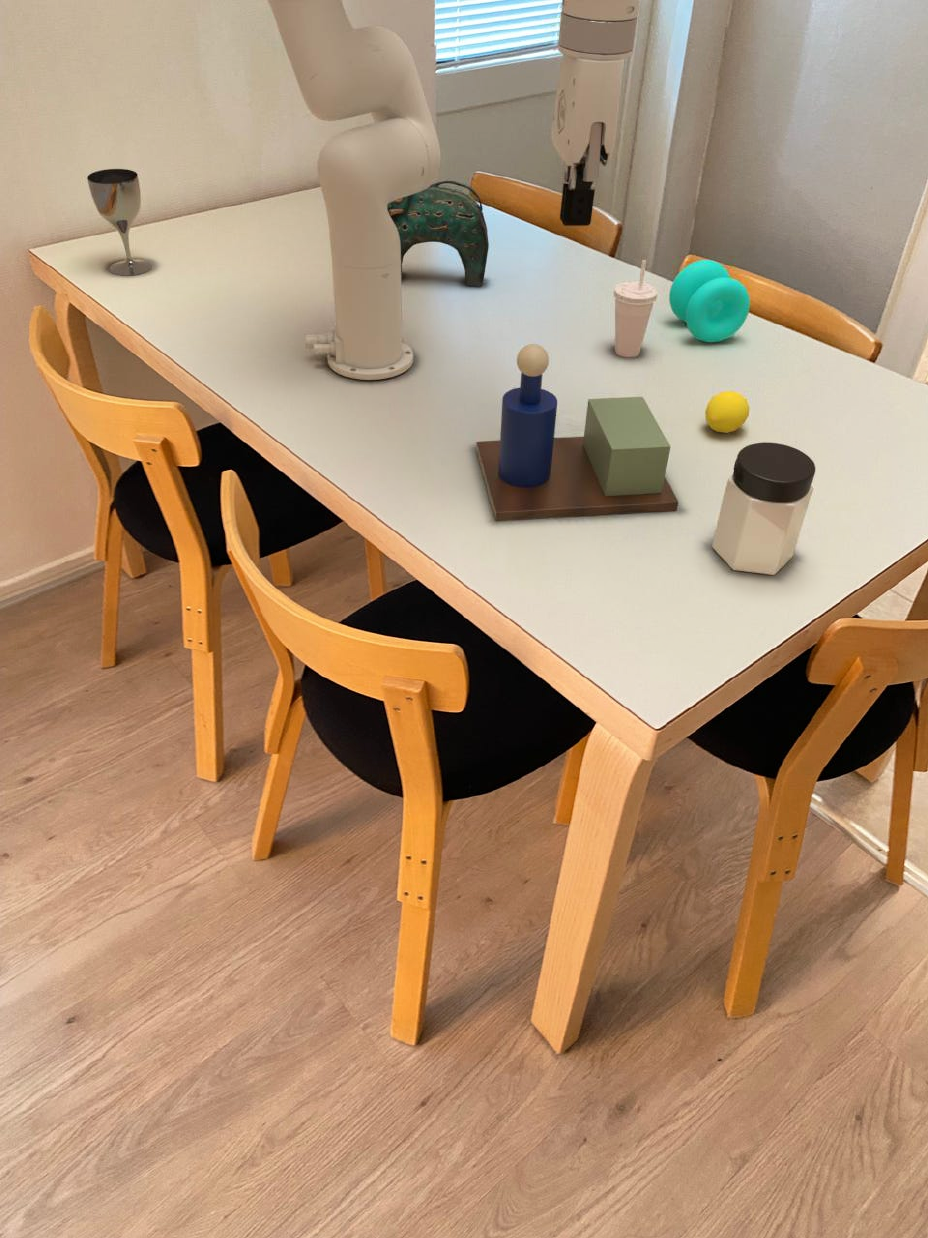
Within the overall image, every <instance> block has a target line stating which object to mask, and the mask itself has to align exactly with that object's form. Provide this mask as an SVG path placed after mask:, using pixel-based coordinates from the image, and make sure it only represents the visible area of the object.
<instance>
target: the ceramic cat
mask: <svg viewBox="0 0 928 1238" xmlns="http://www.w3.org/2000/svg"><path fill="white" fill-rule="evenodd" d="M446 184H451V185H456V186H458V187H462V188H465V189H467V190H468V191H470V192H471V193H472V194H473V195H474V196H475V197H476V199H477V200H478V201H476V199H475V198H474V197H473V196H472V195H470V194H469V193H468V192H467V191H465V190H463V189H461V188H458V187H455V186H451V185H446ZM387 209H388V213H389V215H390V217H391V219H392V220H393V222H394V224H395V226H396V228H397V230H398V233H399V237H400V245H401V276H402V274H403V262H404V258H405V255H406V254H407V253H408V252H409V250H410V249H411V248H412V247H413V246H414V245H419V244H423V243H441V244H444V245H447V246H450V247H451V248H453V249H454V250H456V251H457V253H458V256H459V258H460V259H461V264H462V265H463V266H462V267H463V270H464V284H465V286H467V287H475V288H476V287H478V288H479V287H483V284H484V279H485V273H486V266H487V260H488V254H489V249H490V247H489V246H490V243H489V242H490V241H489V234H488V226H487V223H486V219H485V215H484V212H483V210H484V208H483V204H482V200H481V198H480V196H479V194H478V193H477V192H476V190H475V189H474V188H473V187H472V186H470V185H467V184H466V183H464V182H460V181H456V180H442V181H438V182H434V183H433V184H432V185H431V186H430V187H428V188H427V189H425V190H423V191H420V192H418V193H415V194H412V195H409V196H406V197H403V198H400V199H397V200H395V201H393V202H390V203H388V205H387Z"/></svg>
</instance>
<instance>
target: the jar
mask: <svg viewBox="0 0 928 1238" xmlns="http://www.w3.org/2000/svg"><path fill="white" fill-rule="evenodd" d="M733 464H734V465H733V472H732V474H731V475H730V476H729V477H728V478H727V481H726V485H725V489H724V490H725V491H724V494H723V499H722V502H721V506H720V510H719V515H718V519H717V524H716V526H715V531H714V537H713V540H712V545H711V547H712V549H713V550H714V551H715V552H716V554H718V555H719V557H720V558H721V559H722V560H723V561H724V562H725V563H726V564H727V565H728V566H729V567H730V568H731V569H732V570H733V571H740V572H746V573H754V574H755V573H756V574H763V575H771V576H774V575H776V574H777V573H778V572H779V571H780V570H781V569H782V568H783V567H784V566H785V565H786V564H787V563H788V562H789V561H790V560H791V559H792V557H793V556H794V553H795V550H796V546H797V543H798V540H799V537H800V534H801V530H802V527H803V524H804V521H805V517H806V514H807V511H808V508H809V504H810V502H811V497H812V495H813V491H814V487H813V486H812V484H813V481H814V477H815V474H816V464H815V462H814V461H813V459H812V458H811V457H810V456H809V455H808V454H806V453H805V452H803V451H801V450H799V449H798V448H795V447H793V446H790V445H787V444H783V443H777V442H769V441H768V442H766V441H765V442H764V441H763V442H756V443H752V444H748V445H746V446H744V447H743V448H741V449H740V450H739V451H738V453H737V455H736V458H735V460H734V463H733Z"/></svg>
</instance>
